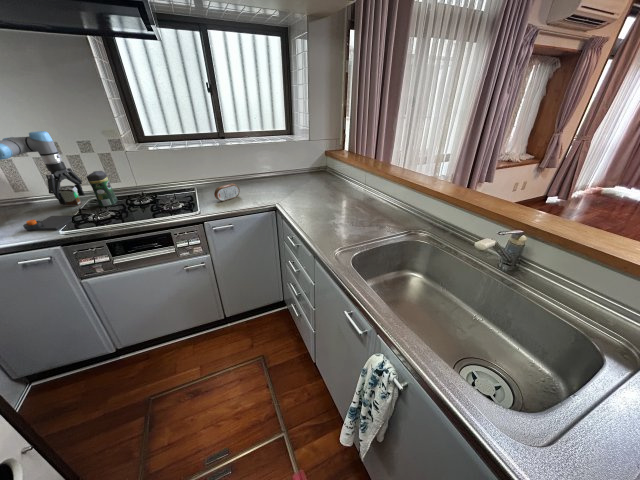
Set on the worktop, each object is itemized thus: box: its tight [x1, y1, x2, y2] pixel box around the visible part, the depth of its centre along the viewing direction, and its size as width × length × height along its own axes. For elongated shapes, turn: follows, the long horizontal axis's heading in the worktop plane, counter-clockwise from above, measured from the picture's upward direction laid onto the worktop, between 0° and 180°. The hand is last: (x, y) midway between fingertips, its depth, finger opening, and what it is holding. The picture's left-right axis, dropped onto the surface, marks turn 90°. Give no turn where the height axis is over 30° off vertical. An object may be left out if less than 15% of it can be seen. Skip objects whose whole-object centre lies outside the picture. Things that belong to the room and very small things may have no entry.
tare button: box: [25, 219, 37, 225], centre depth 125 cm, size 3×3×2 cm
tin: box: [213, 183, 241, 202], centre depth 155 cm, size 15×3×8 cm, turn 136°
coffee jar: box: [86, 170, 118, 208], centre depth 148 cm, size 10×8×19 cm
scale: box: [22, 214, 76, 232], centre depth 130 cm, size 15×15×3 cm
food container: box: [59, 185, 82, 207], centre depth 152 cm, size 12×6×10 cm, turn 89°
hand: (73, 199), depth 153 cm, fingers open, 13 cm apart
